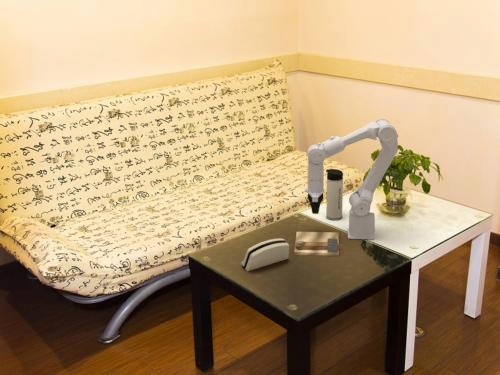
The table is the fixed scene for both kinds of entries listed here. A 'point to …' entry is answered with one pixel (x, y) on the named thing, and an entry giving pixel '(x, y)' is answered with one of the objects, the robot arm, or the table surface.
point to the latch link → (312, 245)
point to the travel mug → (334, 194)
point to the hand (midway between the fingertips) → (315, 213)
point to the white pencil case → (265, 254)
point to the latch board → (315, 238)
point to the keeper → (332, 245)
